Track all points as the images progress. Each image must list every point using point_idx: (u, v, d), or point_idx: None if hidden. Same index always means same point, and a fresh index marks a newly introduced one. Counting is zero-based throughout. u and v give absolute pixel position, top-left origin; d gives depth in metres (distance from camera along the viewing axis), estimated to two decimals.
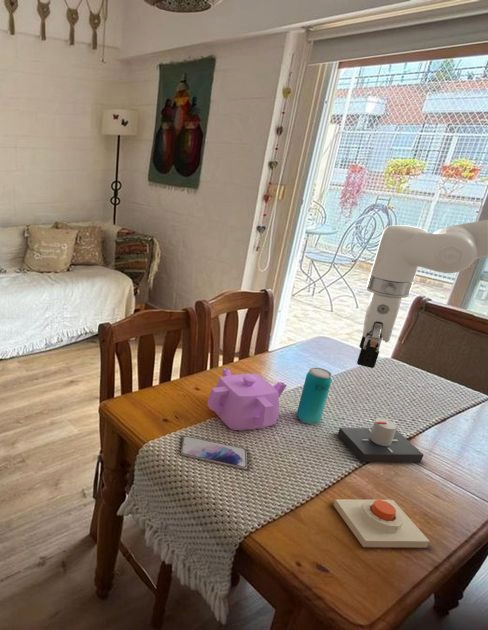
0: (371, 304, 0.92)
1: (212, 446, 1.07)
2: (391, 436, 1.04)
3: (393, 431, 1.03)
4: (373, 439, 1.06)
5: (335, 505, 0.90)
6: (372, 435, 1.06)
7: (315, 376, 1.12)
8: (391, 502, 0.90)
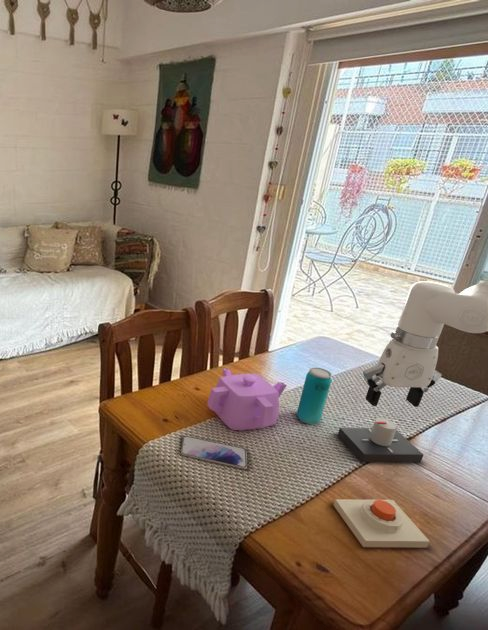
0: None
1: (212, 446, 1.07)
2: (391, 436, 1.04)
3: (393, 431, 1.03)
4: (373, 439, 1.06)
5: (335, 505, 0.90)
6: (372, 435, 1.06)
7: (315, 376, 1.12)
8: (391, 502, 0.90)
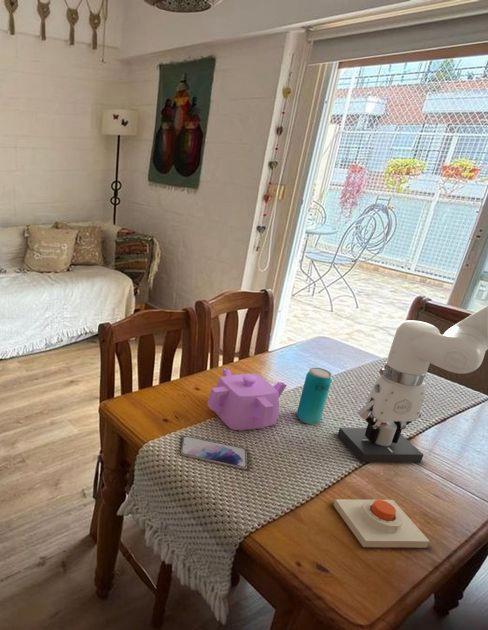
0: None
1: (212, 446, 1.07)
2: (391, 436, 1.04)
3: (393, 431, 1.03)
4: None
5: (335, 505, 0.90)
6: None
7: (315, 376, 1.12)
8: (391, 502, 0.90)
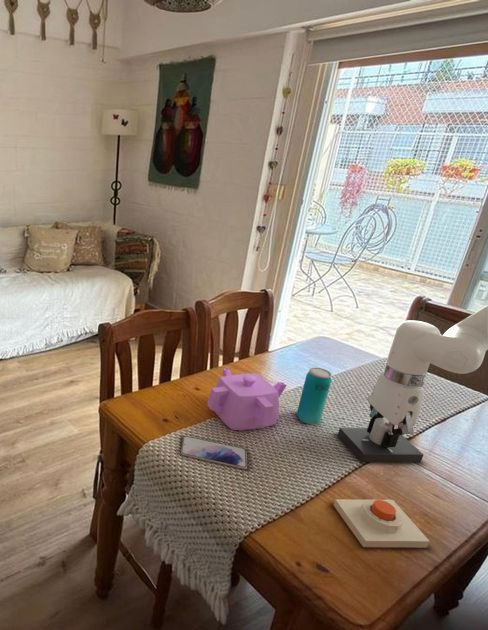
0: (400, 396, 0.98)
1: (212, 446, 1.07)
2: None
3: None
4: None
5: (335, 505, 0.90)
6: None
7: (315, 376, 1.12)
8: (391, 502, 0.90)
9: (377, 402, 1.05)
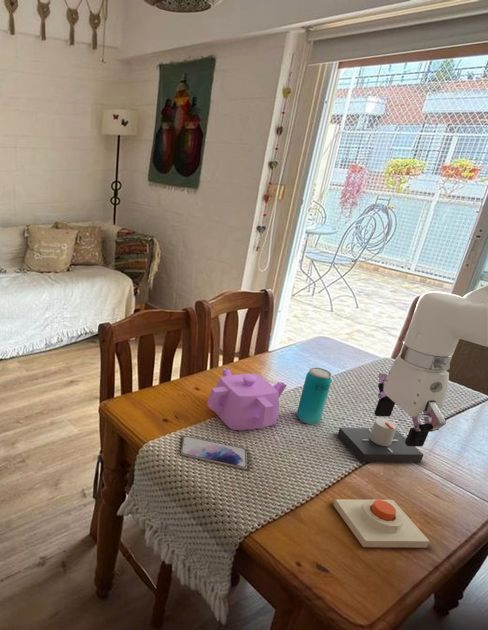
0: (421, 382, 0.82)
1: (212, 446, 1.07)
2: None
3: None
4: (388, 443, 1.05)
5: (335, 505, 0.90)
6: (387, 441, 1.04)
7: (315, 376, 1.12)
8: (391, 502, 0.90)
9: (392, 390, 0.89)
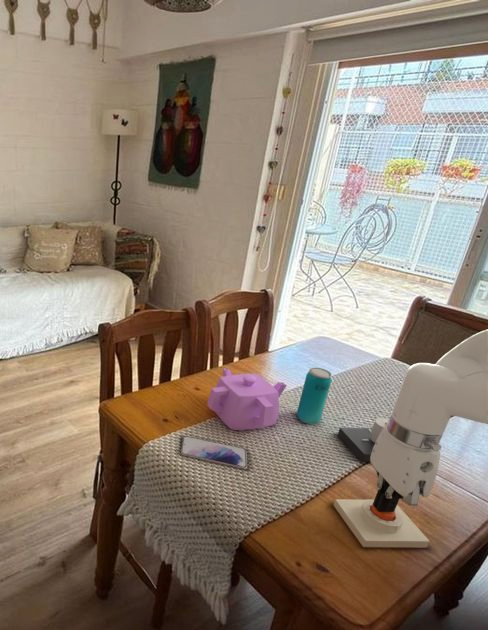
0: (410, 461, 0.76)
1: (212, 446, 1.07)
2: None
3: None
4: None
5: (335, 505, 0.90)
6: None
7: (315, 376, 1.12)
8: None
9: (380, 463, 0.83)
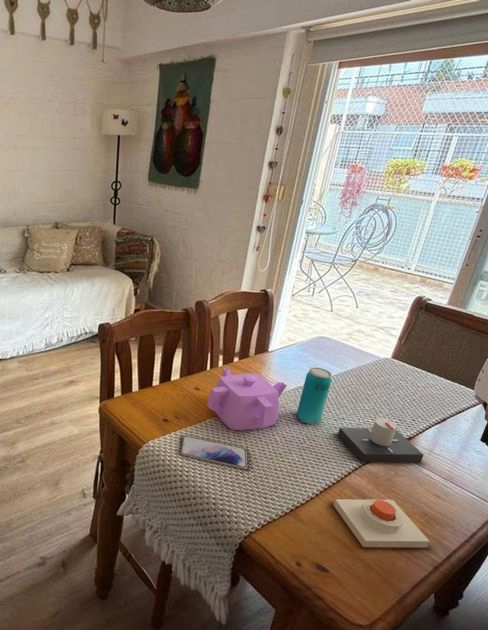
0: None
1: (212, 446, 1.07)
2: None
3: None
4: (388, 443, 1.05)
5: (335, 505, 0.90)
6: (387, 441, 1.04)
7: (315, 376, 1.12)
8: (391, 502, 0.90)
9: None
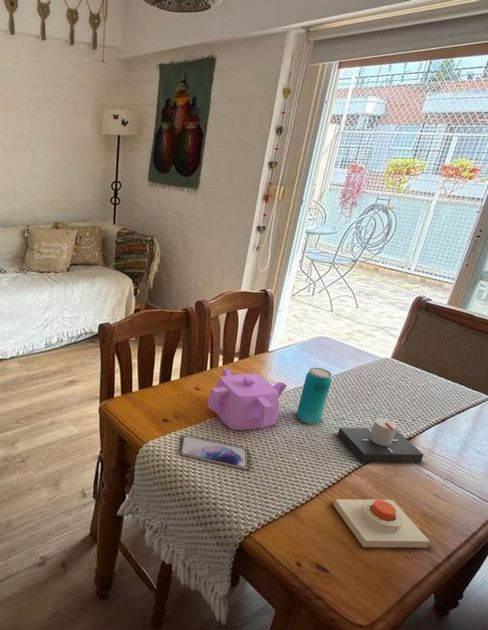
0: None
1: (212, 446, 1.07)
2: None
3: None
4: (388, 443, 1.05)
5: (335, 505, 0.90)
6: (387, 441, 1.04)
7: (315, 376, 1.12)
8: (391, 502, 0.90)
9: None
